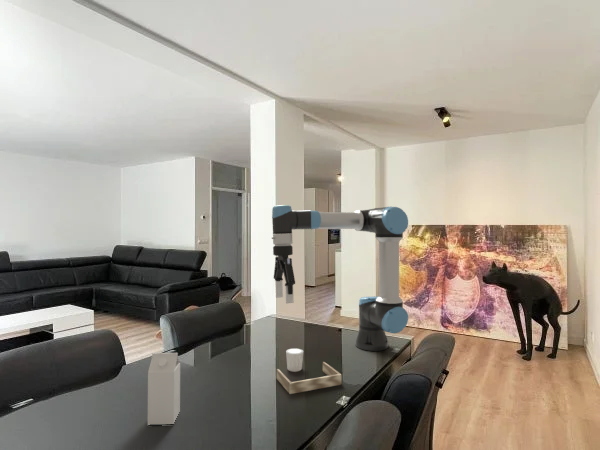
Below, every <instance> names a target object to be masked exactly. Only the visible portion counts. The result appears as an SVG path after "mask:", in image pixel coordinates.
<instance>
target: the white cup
mask: <svg viewBox="0 0 600 450" xmlns="http://www.w3.org/2000/svg"><path fill="white" fill-rule="evenodd" d="M285 352H286V353H285V354H286V355H285V356H286V367H287V370H288V372H289V371H290V372H300V371H301V370H302V369H303V357H304V350H303V349H301V348H296V347H295V348H294V347H293V348H289V349H286V351H285Z"/></svg>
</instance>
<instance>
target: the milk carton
mask: <svg viewBox="0 0 600 450" xmlns="http://www.w3.org/2000/svg"><path fill="white" fill-rule="evenodd" d="M178 354H179V353H178V352H160V353H159V352H157V353H152V354H151V361H150V365H149V367H148V369H147V370H148V371H147V373H148V374H147V426H148V425H150V424H174V425H175V423H176V421H177V419H178V417H179V415H180V413H181V407H180V406H181V360H180V359H179V357H178V356H179V355H178ZM179 412H180V413H179ZM178 414H179V415H178ZM177 416H178V417H177ZM176 418H177V419H176ZM175 420H176V421H175ZM174 422H175V423H174Z"/></svg>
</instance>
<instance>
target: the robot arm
mask: <svg viewBox="0 0 600 450" xmlns="http://www.w3.org/2000/svg"><path fill="white" fill-rule="evenodd" d="M271 210H272V211H271V213H272V214H271V221H272V222H271V223H272V224H271V225H272V236H271V239H272V244H273V247H272V249H273V251H272V255H273V256H275V258H274V259H275V262H274V269H273V270H274V271H273V279H274V282H275V298H277V299H278V298H283V297H284V294H283V293H284V292H283V287H284V286H285V303H286V304H294V301H295V300H294V285H296V279H295V274H294V269H293V259H292V258H291V257H290V258H289V256H292V255H293V254H294V253H293V246H292V244H293V243H294V242H293V230H353V229H354V230H355V231H356V232H367V233H374V235H375V239H376V240H377V241H378V296H363V297H360V298H359V301H358V331H357V334H356V337H355V340H354V342H355V344H354V345H355V347H356V348H358V349H360V350H365V351H372V352H380V351H385V350H387V349H388V348H389V341H388V338H387V335H386V333H391V334H399V333H401V332H402V331H403V330H404V329H405V328H406V327H407V325H408V322H409V314H408V311H406V309H405V308H404V307H403V305H404V301H403V299H402V298H401V297H400V242H401V240H402V239H403V237H404V232H406V231H407V229H408V226H409V217H408V215H407V213H406V212H405V211H404V210H403V209H402V208H400V207H397V206H385V207H375V208H374V207H373V208H369V209H364V210H363V209H362V210H359V209H358V210H355V211H354V212H353V211H352V212H351V211H350V212H346V211H345V212H342V211H341V212H339V211H338V212H337V211H329V212H326V211H324V212H323V211H319V210H312V209H311V210H305V209H304V210H293V209H292V206H291V205H290V204H289V205H288V204H281V205H280V204H279V205H273V207H272V209H271ZM283 275H284V276H283ZM283 277H284V278H283ZM283 281H285V283H284V286H283Z"/></svg>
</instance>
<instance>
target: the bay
mask: <svg viewBox="0 0 600 450" xmlns="http://www.w3.org/2000/svg"><path fill="white" fill-rule="evenodd" d="M322 372H323V373H324V374H326V375H325V376H320V377H314V378H308V379H303V380H297V381H291V380H290V379H289V378H288V377H287V376H286V374H284V373H283V372H282V371H281V370H280V369H279V368H277V369H276V381H278V382H279V384H280V385H281V386H282V387H283V388H284V389H285V391H286V392H287V393H288V394H289V395H292V394H297V393H303V392H308V391H313V390H318V389H325V388H330V387H335V386H341V385H342V374H341V373H340V372H339V371H338V370H336V369H335V368H334V367H333V366H331V365H329V364H328V363H326V362H325V361H322Z"/></svg>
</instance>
